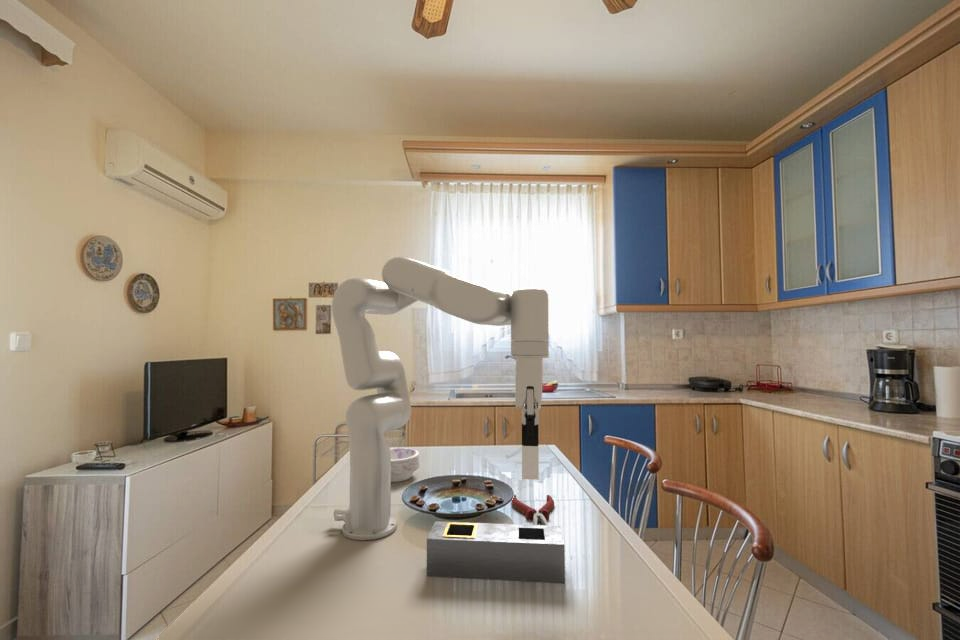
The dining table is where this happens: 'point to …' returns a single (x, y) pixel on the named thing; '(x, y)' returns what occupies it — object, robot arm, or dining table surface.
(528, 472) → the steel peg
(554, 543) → the grey peg board
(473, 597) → the dining table surface
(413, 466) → the white textured bowl
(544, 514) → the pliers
